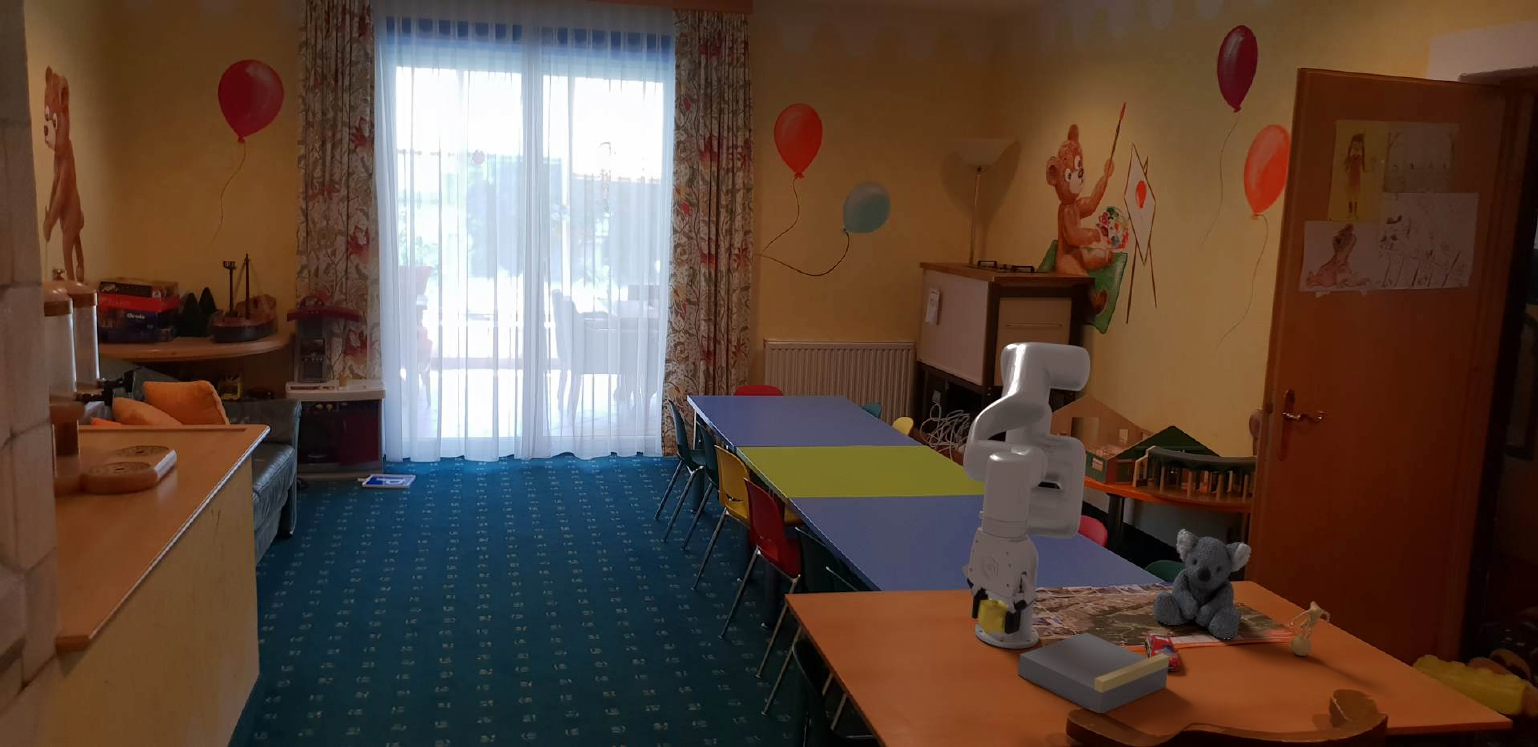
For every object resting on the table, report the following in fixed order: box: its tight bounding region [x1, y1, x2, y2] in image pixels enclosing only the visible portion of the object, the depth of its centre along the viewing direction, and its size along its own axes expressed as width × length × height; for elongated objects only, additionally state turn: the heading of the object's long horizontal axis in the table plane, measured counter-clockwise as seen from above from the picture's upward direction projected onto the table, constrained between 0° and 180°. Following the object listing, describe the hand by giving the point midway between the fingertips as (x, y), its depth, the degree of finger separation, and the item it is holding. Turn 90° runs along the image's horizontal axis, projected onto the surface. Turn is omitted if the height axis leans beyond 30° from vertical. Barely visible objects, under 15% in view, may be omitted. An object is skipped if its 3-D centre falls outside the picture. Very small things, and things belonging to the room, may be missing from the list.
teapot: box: [977, 599, 1009, 634], centre depth 187 cm, size 8×6×5 cm
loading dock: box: [1017, 631, 1169, 714], centre depth 201 cm, size 18×20×6 cm
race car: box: [1144, 632, 1181, 672], centre depth 213 cm, size 13×5×4 cm, turn 167°
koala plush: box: [1152, 528, 1253, 640], centre depth 232 cm, size 17×18×20 cm
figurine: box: [1289, 601, 1331, 657], centre depth 216 cm, size 8×6×12 cm
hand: (995, 623), depth 188 cm, fingers closed on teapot, 6 cm apart
